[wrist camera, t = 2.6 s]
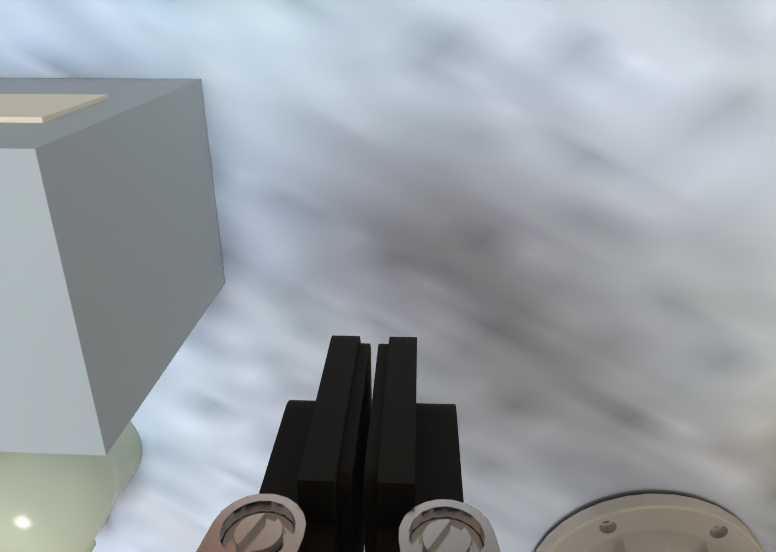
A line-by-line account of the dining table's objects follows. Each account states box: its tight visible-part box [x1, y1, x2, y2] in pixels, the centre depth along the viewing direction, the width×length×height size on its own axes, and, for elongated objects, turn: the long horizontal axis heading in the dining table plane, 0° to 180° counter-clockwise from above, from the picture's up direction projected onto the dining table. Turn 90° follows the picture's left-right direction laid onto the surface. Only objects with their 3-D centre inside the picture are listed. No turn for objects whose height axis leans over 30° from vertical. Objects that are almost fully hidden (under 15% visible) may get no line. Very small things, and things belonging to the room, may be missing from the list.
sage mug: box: [0, 421, 142, 552], centre depth 31 cm, size 6×8×7 cm
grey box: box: [0, 78, 225, 456], centre depth 23 cm, size 9×9×12 cm
